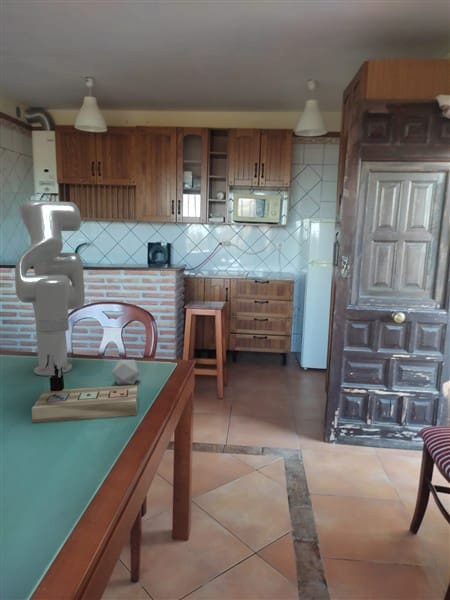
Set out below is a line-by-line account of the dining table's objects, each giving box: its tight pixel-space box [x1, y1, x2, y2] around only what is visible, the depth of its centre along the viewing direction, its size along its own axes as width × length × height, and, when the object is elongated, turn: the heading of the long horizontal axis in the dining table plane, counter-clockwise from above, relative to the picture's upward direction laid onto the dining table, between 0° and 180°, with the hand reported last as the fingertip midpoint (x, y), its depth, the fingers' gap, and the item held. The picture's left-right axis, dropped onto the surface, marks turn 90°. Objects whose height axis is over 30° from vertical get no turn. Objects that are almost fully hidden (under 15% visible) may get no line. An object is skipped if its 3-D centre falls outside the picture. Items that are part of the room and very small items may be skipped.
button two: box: [110, 390, 127, 398], centre depth 108 cm, size 4×4×3 cm
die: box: [111, 359, 141, 386], centre depth 126 cm, size 8×9×10 cm
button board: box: [31, 384, 139, 424], centre depth 106 cm, size 12×26×4 cm, turn 101°
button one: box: [79, 392, 98, 400], centre depth 106 cm, size 4×4×3 cm
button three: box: [47, 394, 68, 402], centre depth 105 cm, size 4×4×3 cm
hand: (57, 389), depth 105 cm, fingers closed
